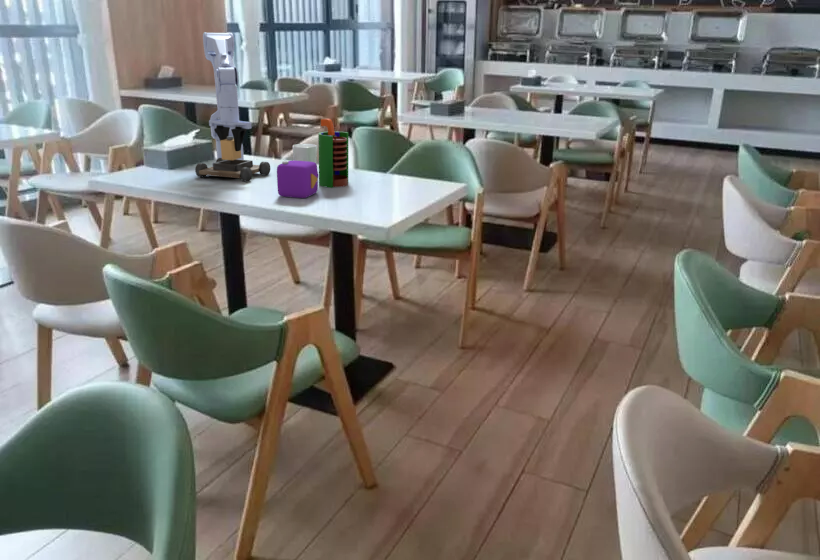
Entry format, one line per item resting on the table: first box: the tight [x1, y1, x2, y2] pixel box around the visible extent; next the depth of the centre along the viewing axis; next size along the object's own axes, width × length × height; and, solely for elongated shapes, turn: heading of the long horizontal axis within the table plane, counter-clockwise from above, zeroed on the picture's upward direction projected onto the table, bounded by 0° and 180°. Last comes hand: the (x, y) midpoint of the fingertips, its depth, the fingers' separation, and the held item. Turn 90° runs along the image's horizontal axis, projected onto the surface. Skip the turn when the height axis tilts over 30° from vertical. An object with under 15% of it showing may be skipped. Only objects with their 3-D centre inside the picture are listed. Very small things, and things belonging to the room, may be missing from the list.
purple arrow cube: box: [276, 159, 319, 199], centre depth 198 cm, size 11×14×10 cm
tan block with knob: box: [220, 136, 241, 160], centre depth 218 cm, size 5×4×7 cm
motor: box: [317, 118, 349, 189], centre depth 209 cm, size 10×9×20 cm
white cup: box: [292, 143, 318, 165], centre depth 222 cm, size 8×8×10 cm
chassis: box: [194, 158, 271, 183], centre depth 221 cm, size 16×18×5 cm
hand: (232, 150), depth 219 cm, fingers closed on tan block with knob, 4 cm apart
